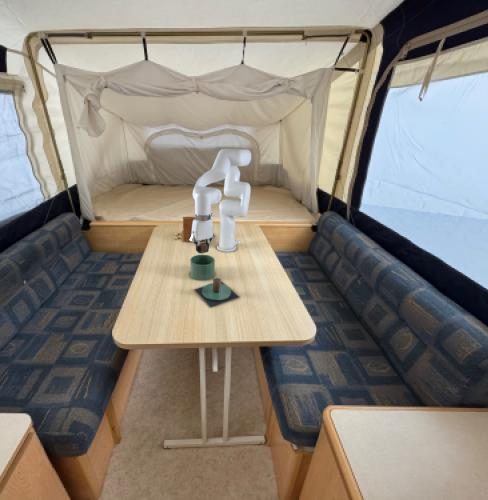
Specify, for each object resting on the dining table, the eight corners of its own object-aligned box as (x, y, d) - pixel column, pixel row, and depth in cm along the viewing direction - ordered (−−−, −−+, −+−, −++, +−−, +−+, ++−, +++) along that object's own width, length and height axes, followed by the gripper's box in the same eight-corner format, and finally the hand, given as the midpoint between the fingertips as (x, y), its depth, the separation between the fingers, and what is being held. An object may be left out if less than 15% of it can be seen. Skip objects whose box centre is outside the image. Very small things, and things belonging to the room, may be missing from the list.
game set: (212, 231, 198) (212, 206, 190) (217, 243, 179) (218, 215, 170) (174, 232, 195) (173, 207, 187) (175, 244, 175) (174, 217, 167)
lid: (220, 282, 133) (221, 270, 130) (236, 296, 122) (237, 283, 119) (196, 289, 127) (196, 276, 124) (211, 304, 116) (211, 291, 113)
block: (204, 249, 138) (204, 242, 136) (207, 252, 135) (208, 245, 133) (197, 250, 136) (197, 243, 134) (200, 253, 133) (201, 246, 131)
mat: (221, 282, 134) (221, 281, 134) (238, 297, 122) (238, 296, 122) (194, 290, 127) (194, 289, 127) (210, 306, 115) (210, 306, 115)
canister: (206, 266, 149) (207, 252, 145) (218, 276, 139) (219, 262, 135) (186, 271, 143) (186, 257, 139) (197, 282, 133) (197, 267, 130)
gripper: (213, 212, 134) (212, 245, 142) (183, 217, 127) (184, 251, 134) (221, 216, 128) (220, 250, 136) (190, 221, 121) (191, 257, 128)
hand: (202, 250), depth 135 cm, fingers closed on block, 4 cm apart
